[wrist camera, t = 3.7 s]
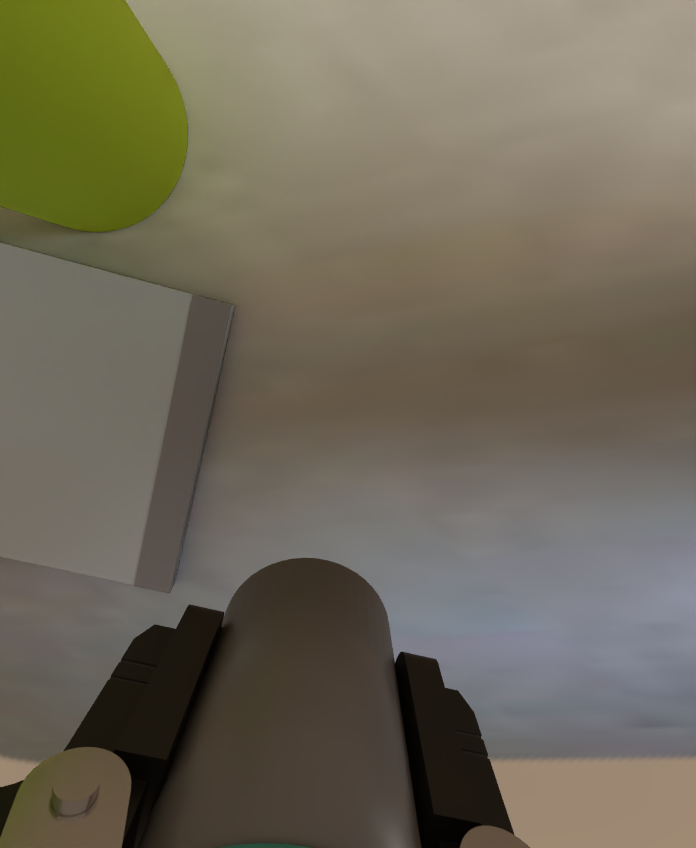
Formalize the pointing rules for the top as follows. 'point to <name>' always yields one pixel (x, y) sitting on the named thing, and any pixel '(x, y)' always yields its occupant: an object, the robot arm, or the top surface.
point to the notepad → (102, 416)
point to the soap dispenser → (85, 115)
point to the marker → (293, 724)
